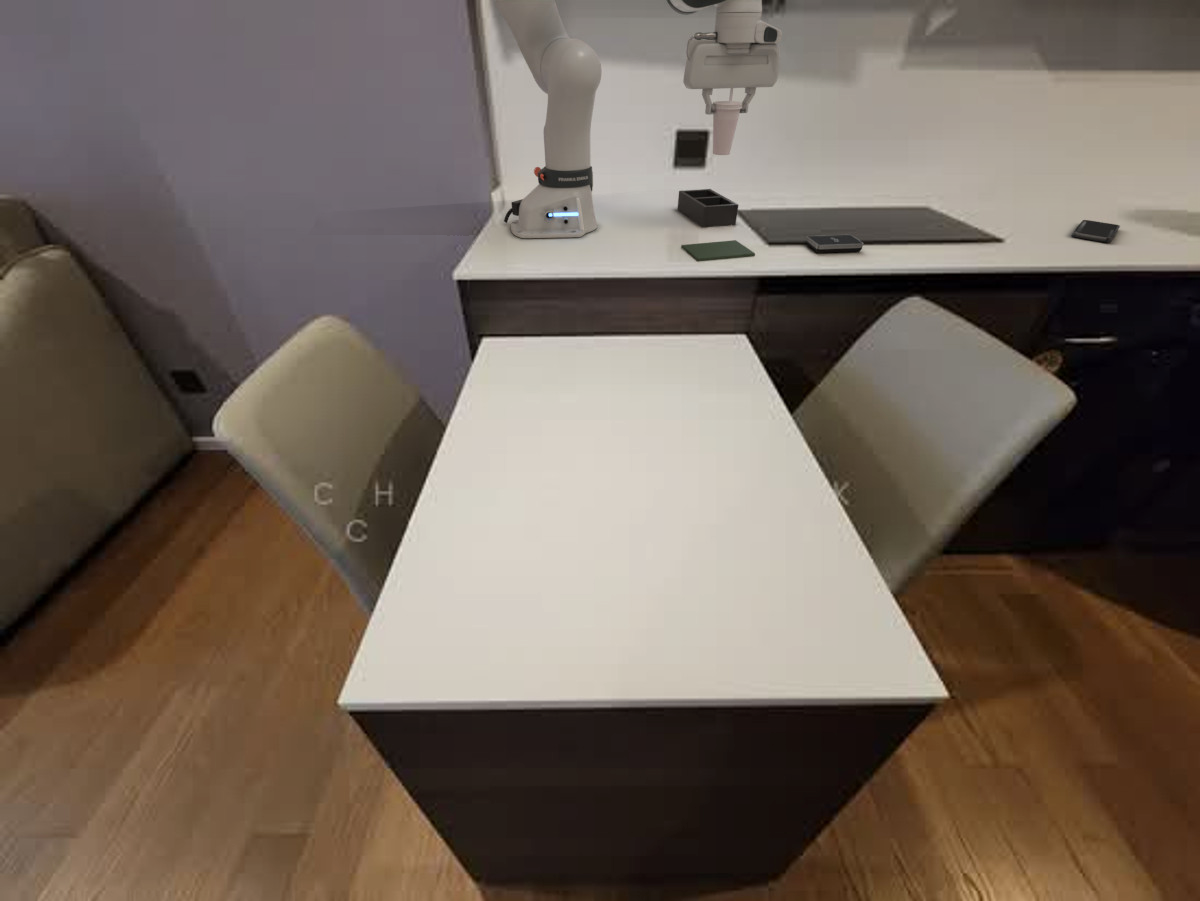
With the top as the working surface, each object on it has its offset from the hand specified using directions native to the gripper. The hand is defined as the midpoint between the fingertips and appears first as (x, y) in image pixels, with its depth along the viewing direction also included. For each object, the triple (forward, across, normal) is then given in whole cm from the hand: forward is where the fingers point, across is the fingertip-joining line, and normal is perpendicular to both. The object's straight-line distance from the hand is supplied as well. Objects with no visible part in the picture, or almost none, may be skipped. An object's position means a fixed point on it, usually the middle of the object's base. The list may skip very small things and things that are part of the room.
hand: (726, 113), depth 114 cm
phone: (+26, +94, -23) cm, 100 cm away
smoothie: (+8, 0, 0) cm, 8 cm away
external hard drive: (+26, +24, -15) cm, 39 cm away
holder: (+26, +6, +18) cm, 32 cm away
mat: (+26, -3, -10) cm, 28 cm away
